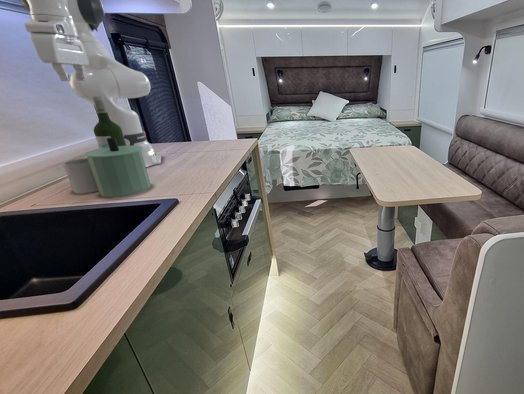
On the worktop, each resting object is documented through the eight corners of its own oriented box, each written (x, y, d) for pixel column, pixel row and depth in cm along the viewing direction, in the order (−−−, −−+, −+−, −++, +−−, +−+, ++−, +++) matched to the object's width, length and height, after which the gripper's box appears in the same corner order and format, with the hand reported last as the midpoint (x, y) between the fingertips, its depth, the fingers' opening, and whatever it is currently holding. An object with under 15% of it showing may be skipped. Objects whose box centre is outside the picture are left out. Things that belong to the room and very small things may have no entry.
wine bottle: (138, 175, 116) (115, 95, 104) (131, 181, 109) (105, 97, 97) (115, 176, 113) (89, 96, 102) (106, 183, 106) (77, 97, 95)
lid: (97, 150, 99) (92, 135, 97) (148, 147, 104) (144, 133, 102) (76, 161, 86) (70, 144, 84) (135, 157, 90) (130, 141, 89)
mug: (99, 192, 98) (88, 163, 95) (68, 194, 96) (56, 165, 92) (114, 180, 109) (106, 154, 106) (87, 182, 107) (77, 156, 103)
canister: (110, 186, 104) (97, 149, 98) (155, 182, 108) (145, 146, 103) (93, 201, 91) (77, 159, 86) (144, 195, 96) (132, 155, 90)
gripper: (62, 33, 91) (78, 80, 97) (19, 22, 74) (41, 81, 79) (86, 34, 93) (100, 80, 99) (50, 24, 75) (70, 81, 81)
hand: (74, 81), depth 89 cm, fingers open, 8 cm apart
